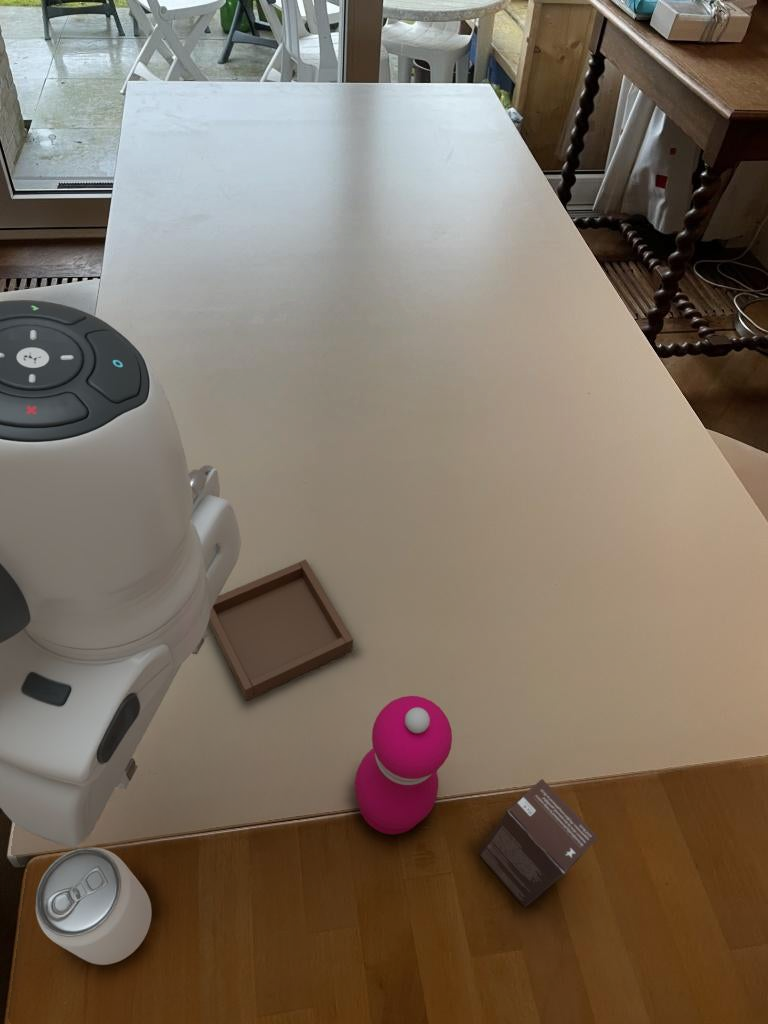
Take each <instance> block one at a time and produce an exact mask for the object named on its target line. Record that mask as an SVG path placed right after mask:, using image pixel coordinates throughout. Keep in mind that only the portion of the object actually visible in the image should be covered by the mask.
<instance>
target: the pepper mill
mask: <svg viewBox="0 0 768 1024" xmlns="http://www.w3.org/2000/svg"><path fill="white" fill-rule="evenodd" d="M450 723H451V722H450V721H449V718H448V717H447V715H446V714H445V712H444V711H443V709H442V708H441V707H440V706H439V705H437V704H436V703H435V702H433V701H432V700H430V699H428V698H426V697H422V696H418V695H407V696H406V695H405V696H401V697H398V698H396V699H394V700H392V701H390V702H388V704H386V705H385V706H384V707H382V709H381V710H380V711H379V713H378V714H377V716H376V718H375V721H374V723H373V727H372V731H371V742H372V748H371V749H370V750H369V751H368V752H366V754H365V755H364V756H363V758H362V759H361V761H360V763H359V765H358V767H357V771H356V773H355V779H354V790H355V796H356V800H357V803H358V804H357V805H358V809H359V811H360V814H361V816H362V818H363V819H364V821H365V822H366V823H367V824H368V825H369V826H370V827H371V828H372V829H374V830H376V831H377V832H380V833H382V834H387V835H400V834H404V833H406V832H409V831H410V830H412V829H413V828H415V827H416V825H418V824H419V823H420V822H421V821H423V820H424V819H426V817H427V816H428V815H429V814H430V813H431V811H432V809H433V808H434V806H435V803H436V801H437V797H438V792H439V777H438V772H437V771H439V769H440V768H441V767H442V766H443V765H444V764H445V762H446V760H447V759H448V757H449V756H450V752H451V749H452V744H453V743H452V742H453V730H452V727H451V724H450Z"/></svg>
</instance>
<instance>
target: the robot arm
mask: <svg viewBox="0 0 768 1024" xmlns="http://www.w3.org/2000/svg"><path fill="white" fill-rule="evenodd" d="M220 491H221V487H220V479H219V473H218V469H216V468H214V467H213V466H212V465H211V464H204V465H202V466H201V467H199V469H192V470H191V471H189V467H188V462H187V457H186V452H185V449H184V445H183V442H182V439H181V434H180V430H179V427H178V424H177V420H176V416H175V415H174V412H173V410H172V406H171V403H170V401H169V399H168V396H167V394H166V392H165V390H164V387H163V386H162V383H161V381H160V380H159V377H158V375H157V374H156V372H155V370H154V369H153V367H152V366H151V364H150V362H149V361H148V359H147V358H146V357H145V356H144V354H143V353H142V352H141V350H140V349H138V347H137V346H136V345H135V344H134V343H133V342H132V341H131V340H130V339H129V338H128V337H126V335H124V334H123V333H122V332H121V331H119V330H118V329H117V328H115V327H114V326H113V325H111V324H110V323H108V322H107V321H105V320H103V319H102V318H100V317H98V316H96V315H95V314H92V313H90V312H87V311H85V310H83V309H79V308H76V307H74V306H71V305H67V304H63V303H58V302H53V301H47V300H40V299H39V300H37V299H11V300H10V299H9V300H1V301H0V809H1V811H2V812H3V813H4V814H5V815H6V817H7V818H8V819H9V820H10V821H11V822H12V823H13V824H14V825H16V826H17V827H18V828H19V829H22V830H24V831H26V832H28V833H30V834H33V835H35V836H37V837H39V838H42V839H44V840H47V841H49V842H52V843H55V844H58V845H61V846H64V847H67V848H72V849H75V848H77V847H80V845H82V844H83V843H84V842H85V841H87V839H88V838H89V837H90V835H91V834H92V832H93V831H94V829H95V827H96V825H97V823H98V822H99V819H100V817H101V815H102V813H103V811H104V810H105V808H106V806H107V805H108V802H109V801H110V799H111V796H112V795H113V793H114V791H115V789H116V788H117V789H120V790H123V791H124V790H127V789H128V786H129V784H130V783H131V781H132V779H133V777H134V775H135V773H136V771H137V769H138V764H136V759H135V758H134V754H135V752H136V750H137V749H138V746H139V745H140V743H141V741H142V739H143V737H144V735H145V734H146V732H147V730H148V728H149V727H150V724H151V722H152V720H153V719H154V716H155V715H156V713H157V712H158V709H159V707H160V706H161V704H162V702H163V700H164V698H165V697H166V695H167V692H168V691H169V689H170V687H171V686H172V683H173V681H174V680H175V678H176V676H177V674H178V672H179V670H180V668H181V666H182V664H184V662H186V661H187V659H189V657H190V656H191V655H197V654H199V652H200V650H201V648H202V646H203V645H204V642H205V640H206V639H207V637H208V632H207V628H208V625H209V623H208V622H209V618H210V611H211V609H212V607H213V605H214V603H215V601H216V600H217V598H218V596H220V595H221V592H222V590H223V588H224V587H225V585H226V583H227V581H228V579H229V577H230V576H231V573H232V572H233V570H234V568H235V566H236V565H237V562H238V560H239V556H240V552H241V549H242V536H241V531H240V527H239V522H238V520H237V519H238V518H237V515H236V513H235V510H234V508H233V506H232V503H231V502H229V500H227V499H225V498H222V497H220V494H221V493H220Z"/></svg>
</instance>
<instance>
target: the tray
mask: <svg viewBox="0 0 768 1024" xmlns="http://www.w3.org/2000/svg"><path fill="white" fill-rule="evenodd" d="M208 625H209V627H210V629H211V632H212V633H213V635H214V638H215V639H216V641H217V642H216V643H218V645H219V648H220V650H221V652H222V654H223V656H224V658H225V660H226V663H227V664H228V667H229V668H230V671H231V673H232V674H233V677H234V678H235V680H236V681H235V682H236V683H237V685H238V687H239V689H240V691H241V693H242V695H243V697H244V699H245V701H249V700H251V699H253V698H255V697H258V696H260V695H261V694H264V693H266V692H268V691H271V690H272V689H275V688H277V687H278V686H281V685H283V684H284V683H287V682H289V681H292V680H293V679H295V678H298V677H300V676H302V675H304V674H306V673H308V672H310V671H313V670H314V669H317V668H319V667H320V666H323V665H325V664H327V663H329V662H332V661H333V660H335V659H337V658H339V657H342V656H344V655H346V654H348V653H350V652H352V651H353V643H354V638H353V637H352V635H351V632H349V630H348V629H347V627H346V624H345V623H344V622H343V620H342V618H341V616H340V615H339V613H338V612H337V610H336V608H335V606H334V604H333V603H332V601H331V600H330V598H329V596H328V595H327V593H326V592H325V589H324V588H323V586H322V585H321V582H320V581H319V579H318V578H317V576H316V574H315V573H314V571H313V569H312V567H311V565H310V564H309V563H308V561H307V559H303V560H301V561H298V562H296V563H293V564H290V565H289V566H286V567H284V568H282V569H280V570H277V571H275V572H273V573H270V574H267V575H265V576H263V577H261V578H258V579H255V580H253V581H250V582H248V583H246V584H243V585H242V586H238V587H236V588H234V589H231V590H230V591H226V592H224V593H221V594H219V596H218V598H217V600H216V601H215V603H214V605H213V607H212V609H211V611H210V618H209V622H208Z"/></svg>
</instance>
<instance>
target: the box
mask: <svg viewBox="0 0 768 1024" xmlns="http://www.w3.org/2000/svg"><path fill="white" fill-rule="evenodd" d="M597 839H598V835H596V834H595V833H594V832H593V830H592V829H591V828H590V827H589V826H588V825H587V824H586V823H585V822H584V821H583V820H582V818H580V817H579V816H578V814H576V812H575V811H574V810H573V809H572V808H571V807H570V806H569V805H568V804H567V802H566V801H564V800H563V798H561V796H559V794H558V793H556V791H555V790H554V789H553V788H552V787H551V786H550V785H549V784H548V783H547V782H546V781H545V780H544V779H543V778H541V779H540V780H539V781H538V782H536V783H535V784H534V785H533V786H531V788H530V789H528V790H527V792H525V793H524V794H522V796H520V798H518V800H516V801H515V802H514V803H513V804H511V806H510V807H508V809H507V810H506V811H505V813H504V814H503V816H502V817H501V819H500V820H499V822H498V823H497V825H496V826H495V827H494V829H493V831H492V832H491V833H490V835H489V836H488V838H486V840H485V842H484V843H483V844H482V845H481V846H480V848H479V850H478V853H477V854H478V855H479V857H480V858H481V859H482V860H483V862H485V864H486V865H487V866H488V867H489V868H490V870H491V871H492V872H493V873H494V874H495V876H497V878H498V879H499V880H500V881H501V882H502V884H503V885H504V886H505V887H506V888H507V889H508V890H509V892H510V893H511V894H512V895H513V896H514V898H516V900H517V901H518V902H519V903H520V904H521V906H522V907H523V908H526V907H528V906H529V905H530V904H531V903H532V902H533V901H534V900H535V899H537V898H538V897H539V896H541V895H542V894H543V893H544V892H545V891H546V890H547V889H548V888H550V887H551V886H552V885H553V884H554V883H556V882H557V881H558V880H559V879H560V878H561V877H563V876H564V875H566V873H567V872H568V871H569V870H570V869H571V868H572V867H573V866H574V865H575V864H576V863H577V862H578V860H579V859H580V858H581V857H583V855H584V853H585V852H586V851H587V850H588V849H589V848H590V847H591V846H592V845H593V844H594V843H595V841H597Z"/></svg>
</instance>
